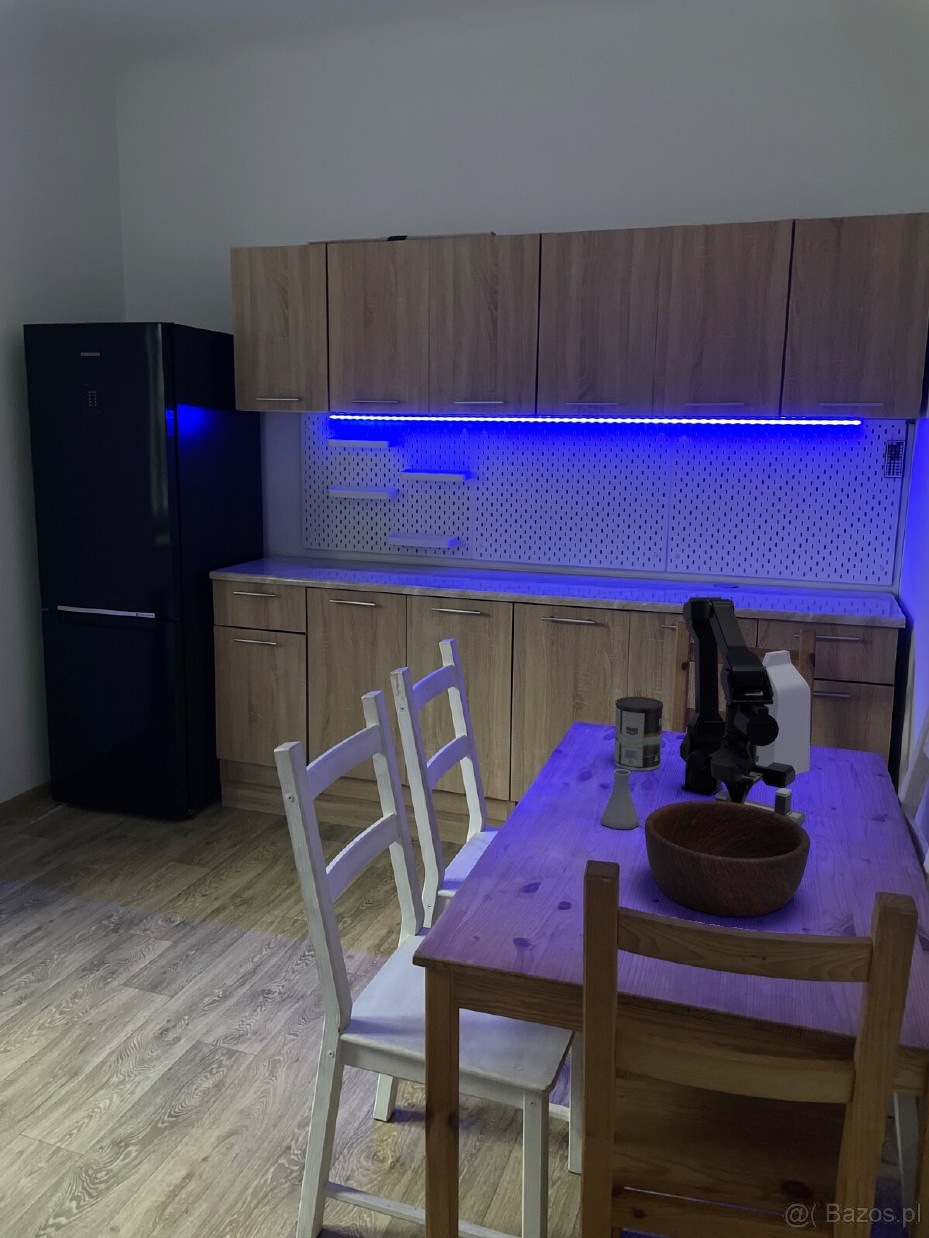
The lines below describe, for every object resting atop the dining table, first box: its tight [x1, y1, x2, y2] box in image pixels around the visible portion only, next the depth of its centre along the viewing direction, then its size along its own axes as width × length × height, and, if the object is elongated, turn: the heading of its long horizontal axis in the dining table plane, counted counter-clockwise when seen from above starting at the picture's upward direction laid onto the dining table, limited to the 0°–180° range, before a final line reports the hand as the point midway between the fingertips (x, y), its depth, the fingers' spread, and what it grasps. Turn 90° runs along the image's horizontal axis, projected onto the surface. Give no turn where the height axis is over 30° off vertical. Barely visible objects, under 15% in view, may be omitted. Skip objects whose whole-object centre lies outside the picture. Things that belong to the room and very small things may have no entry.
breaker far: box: [774, 787, 793, 815], centre depth 181 cm, size 2×3×4 cm, turn 142°
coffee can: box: [613, 696, 664, 772], centre depth 212 cm, size 10×10×14 cm
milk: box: [745, 649, 811, 776], centre depth 209 cm, size 12×12×26 cm
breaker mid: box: [714, 789, 732, 802], centre depth 179 cm, size 2×3×4 cm, turn 142°
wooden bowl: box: [644, 799, 811, 918], centre depth 152 cm, size 25×25×10 cm
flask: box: [600, 768, 640, 830], centre depth 179 cm, size 7×7×10 cm
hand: (737, 812), depth 178 cm, fingers closed
